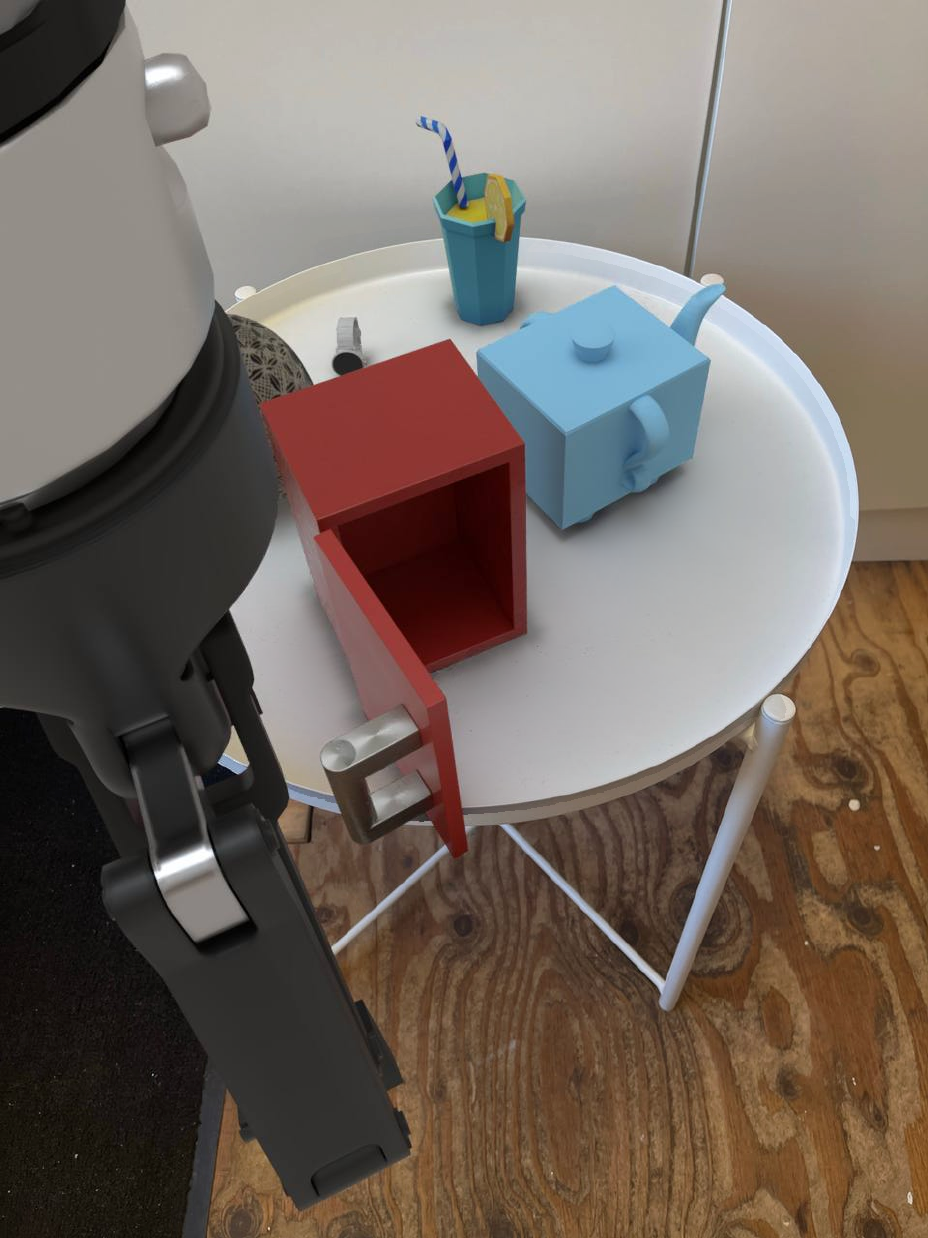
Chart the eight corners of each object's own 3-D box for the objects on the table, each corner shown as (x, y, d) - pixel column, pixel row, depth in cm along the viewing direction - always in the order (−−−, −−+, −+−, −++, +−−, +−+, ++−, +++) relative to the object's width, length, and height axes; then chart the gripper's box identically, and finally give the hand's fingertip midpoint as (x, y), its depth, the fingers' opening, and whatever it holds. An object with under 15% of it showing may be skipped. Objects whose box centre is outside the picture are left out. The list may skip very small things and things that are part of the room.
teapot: (583, 566, 70) (592, 435, 59) (464, 443, 78) (454, 308, 67) (769, 460, 75) (808, 321, 64) (640, 354, 83) (656, 216, 72)
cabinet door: (381, 902, 56) (328, 761, 42) (295, 746, 62) (224, 577, 48) (468, 851, 58) (446, 698, 43) (376, 704, 64) (330, 528, 49)
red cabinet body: (527, 633, 67) (525, 442, 52) (366, 700, 64) (316, 520, 50) (467, 534, 72) (450, 337, 57) (316, 593, 70) (258, 402, 55)
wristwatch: (336, 391, 82) (326, 343, 78) (340, 353, 85) (330, 305, 81) (370, 389, 82) (361, 341, 78) (373, 351, 85) (365, 303, 81)
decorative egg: (197, 557, 72) (128, 405, 60) (181, 451, 79) (117, 295, 67) (349, 519, 74) (312, 363, 62) (321, 418, 80) (283, 259, 68)
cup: (400, 284, 90) (379, 125, 78) (466, 251, 93) (455, 92, 81) (492, 358, 84) (484, 196, 71) (560, 320, 86) (564, 157, 74)
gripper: (629, 1092, 8) (565, 1240, 25) (69, -9, 22) (274, 573, 39) (-332, 1602, 7) (294, 1391, 24) (-284, 76, 20) (91, 642, 38)
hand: (282, 884), depth 31 cm, fingers open, 13 cm apart
